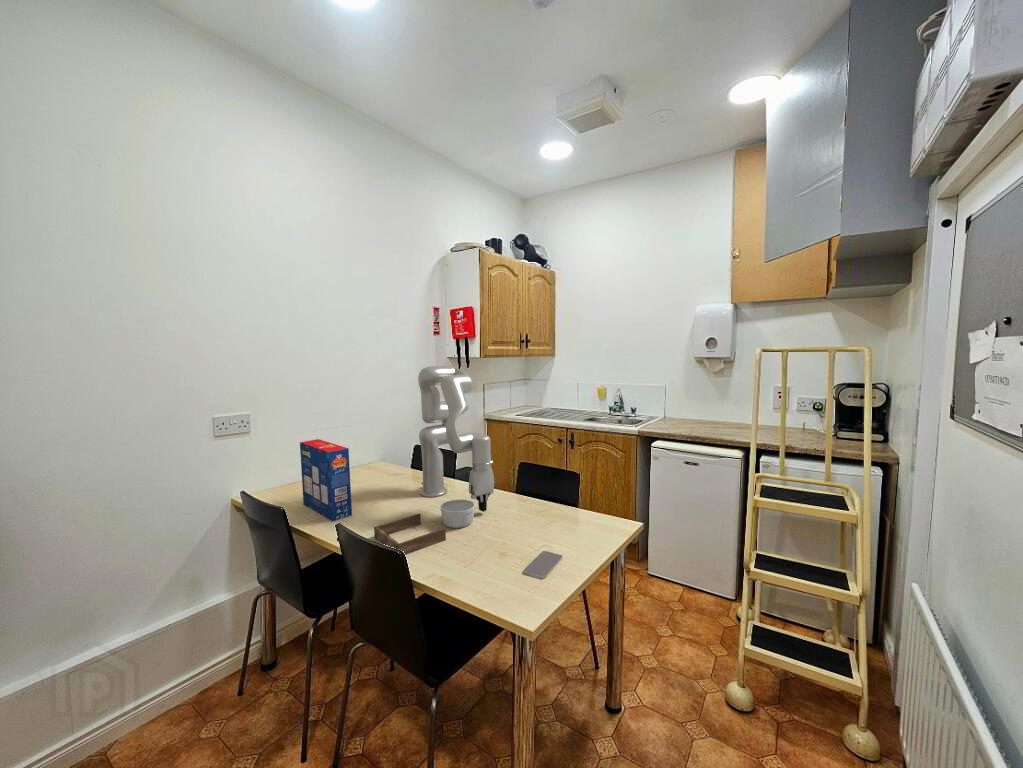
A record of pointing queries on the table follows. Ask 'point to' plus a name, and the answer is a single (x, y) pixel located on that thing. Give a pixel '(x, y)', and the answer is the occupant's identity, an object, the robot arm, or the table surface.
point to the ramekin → (457, 513)
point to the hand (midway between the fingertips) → (482, 510)
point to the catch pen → (410, 545)
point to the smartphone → (542, 564)
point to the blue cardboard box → (326, 478)
